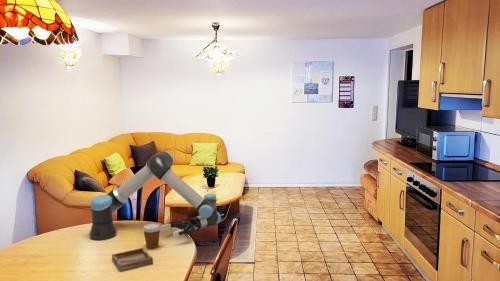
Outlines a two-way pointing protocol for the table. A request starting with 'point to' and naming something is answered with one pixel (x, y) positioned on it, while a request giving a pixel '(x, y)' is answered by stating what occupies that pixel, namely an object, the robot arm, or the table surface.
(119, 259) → the walnut tray
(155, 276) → the table surface
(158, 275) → the table surface
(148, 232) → the disposable coffee cup
